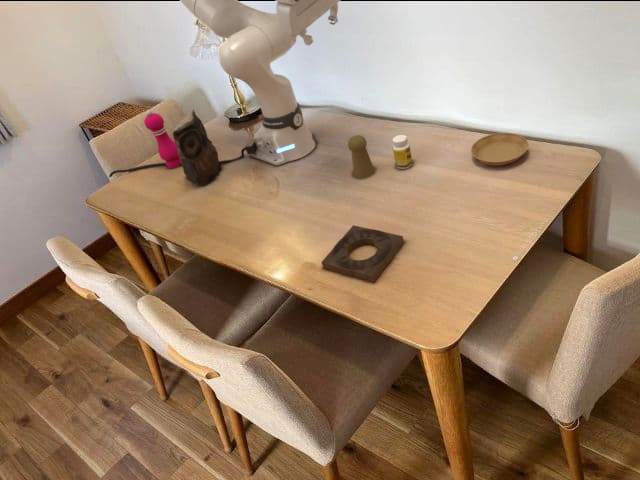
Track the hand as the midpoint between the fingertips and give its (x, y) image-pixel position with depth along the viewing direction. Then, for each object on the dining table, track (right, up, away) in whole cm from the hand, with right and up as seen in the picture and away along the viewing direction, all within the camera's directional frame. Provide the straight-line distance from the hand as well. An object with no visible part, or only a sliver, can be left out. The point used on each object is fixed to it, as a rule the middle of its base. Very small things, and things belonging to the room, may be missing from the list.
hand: (321, 33), depth 126 cm
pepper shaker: (+11, -32, +18) cm, 38 cm away
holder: (+11, -56, -9) cm, 58 cm away
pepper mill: (-54, -23, +49) cm, 77 cm away
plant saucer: (+47, -29, +9) cm, 56 cm away
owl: (-41, -29, +38) cm, 63 cm away
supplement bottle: (+22, -30, +16) cm, 41 cm away
